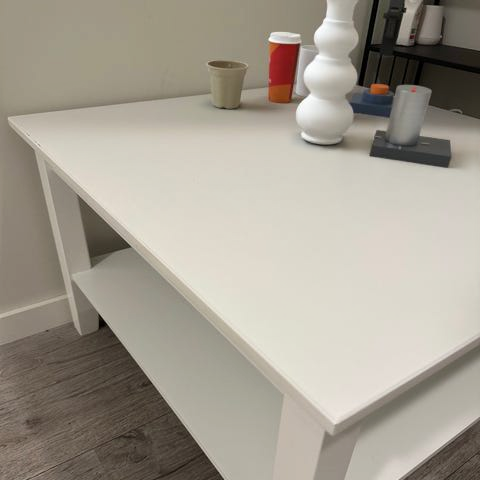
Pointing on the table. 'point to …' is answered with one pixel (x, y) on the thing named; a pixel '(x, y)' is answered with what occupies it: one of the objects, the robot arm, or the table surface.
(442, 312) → the table surface
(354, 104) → the block
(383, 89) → the button
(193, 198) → the table surface
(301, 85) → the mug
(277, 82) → the paper cup
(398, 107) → the dial
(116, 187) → the table surface
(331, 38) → the vase
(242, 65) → the flower pot
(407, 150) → the control panel
